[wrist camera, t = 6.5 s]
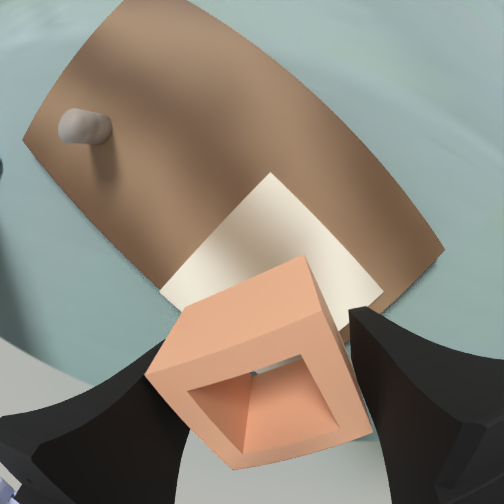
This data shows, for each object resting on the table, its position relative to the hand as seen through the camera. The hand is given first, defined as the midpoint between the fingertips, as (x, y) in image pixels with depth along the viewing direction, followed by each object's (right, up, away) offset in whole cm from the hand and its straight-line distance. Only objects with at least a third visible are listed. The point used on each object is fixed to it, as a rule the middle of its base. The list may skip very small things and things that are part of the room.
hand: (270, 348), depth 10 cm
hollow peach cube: (0, 0, +1) cm, 1 cm away
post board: (-3, +7, +4) cm, 9 cm away
